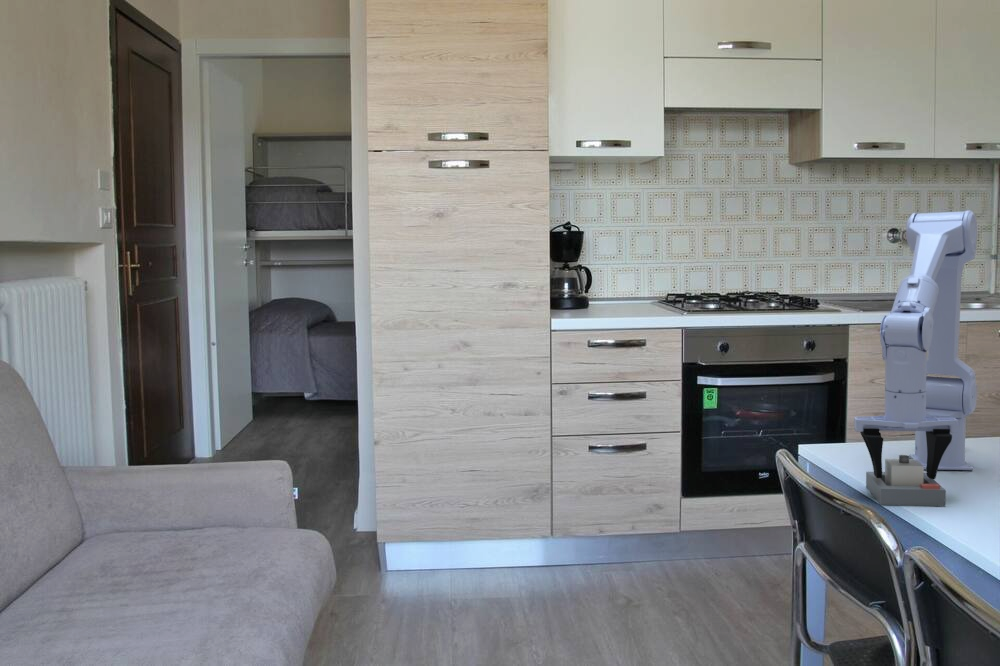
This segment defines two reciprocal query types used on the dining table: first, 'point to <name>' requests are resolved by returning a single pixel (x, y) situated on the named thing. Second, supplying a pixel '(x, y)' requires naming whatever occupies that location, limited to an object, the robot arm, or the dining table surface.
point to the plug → (903, 472)
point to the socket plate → (906, 492)
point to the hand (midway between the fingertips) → (904, 477)
